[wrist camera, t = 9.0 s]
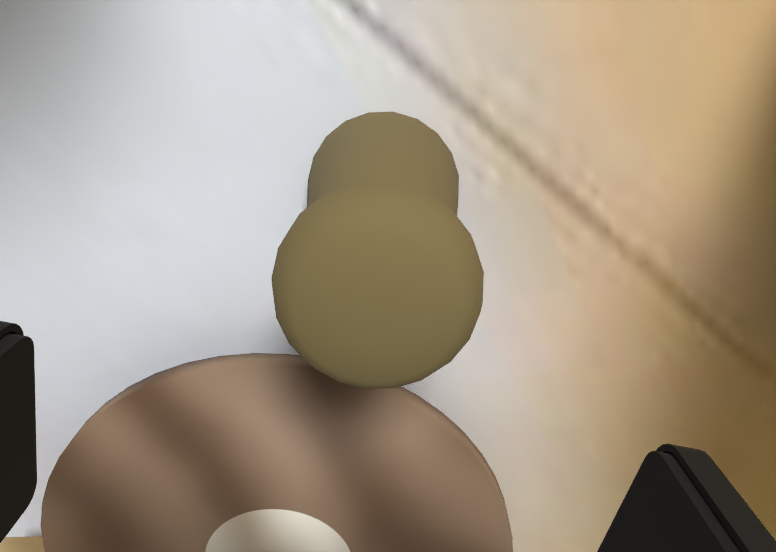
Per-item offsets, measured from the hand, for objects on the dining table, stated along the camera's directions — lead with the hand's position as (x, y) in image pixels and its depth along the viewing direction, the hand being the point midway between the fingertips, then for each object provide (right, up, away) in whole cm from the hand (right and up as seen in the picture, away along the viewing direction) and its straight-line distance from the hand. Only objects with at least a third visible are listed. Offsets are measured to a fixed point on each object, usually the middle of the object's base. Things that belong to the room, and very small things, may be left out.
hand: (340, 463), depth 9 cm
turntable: (-5, -11, +19) cm, 22 cm away
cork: (+1, +6, +14) cm, 16 cm away
